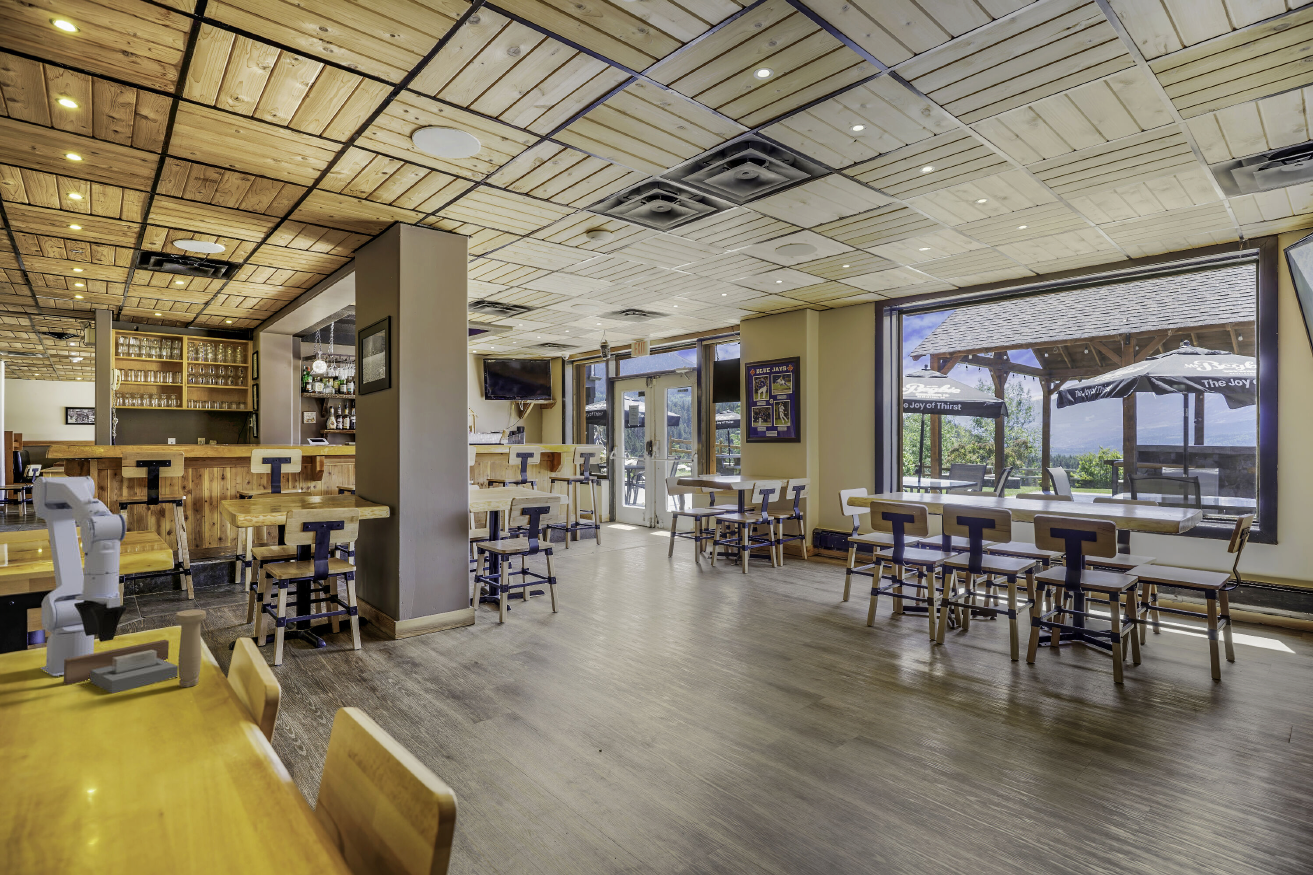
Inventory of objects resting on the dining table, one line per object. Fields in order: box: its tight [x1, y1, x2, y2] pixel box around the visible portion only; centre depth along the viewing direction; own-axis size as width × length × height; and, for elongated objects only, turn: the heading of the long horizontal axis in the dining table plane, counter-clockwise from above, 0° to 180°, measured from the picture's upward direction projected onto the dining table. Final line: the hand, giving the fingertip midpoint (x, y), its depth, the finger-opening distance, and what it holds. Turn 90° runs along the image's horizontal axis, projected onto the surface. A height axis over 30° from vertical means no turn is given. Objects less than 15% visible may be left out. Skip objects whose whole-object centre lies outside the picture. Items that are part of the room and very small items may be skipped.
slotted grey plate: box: [89, 657, 179, 694], centre depth 140 cm, size 12×11×2 cm
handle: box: [175, 609, 207, 688], centre depth 137 cm, size 5×6×15 cm
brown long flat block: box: [63, 639, 170, 686], centre depth 144 cm, size 2×18×5 cm, turn 147°
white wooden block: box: [112, 650, 157, 675], centre depth 140 cm, size 2×7×6 cm, turn 147°
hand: (99, 637), depth 138 cm, fingers open, 7 cm apart
